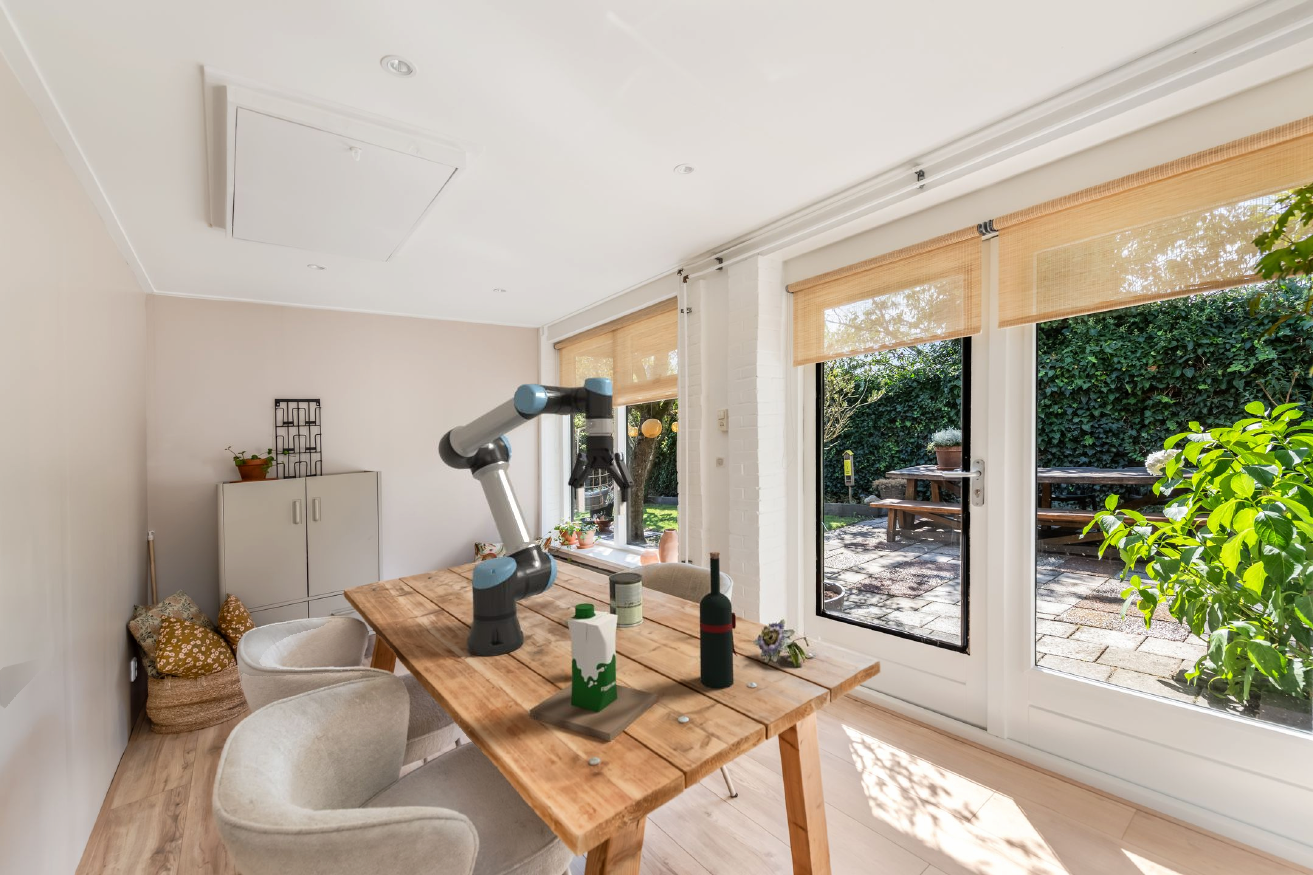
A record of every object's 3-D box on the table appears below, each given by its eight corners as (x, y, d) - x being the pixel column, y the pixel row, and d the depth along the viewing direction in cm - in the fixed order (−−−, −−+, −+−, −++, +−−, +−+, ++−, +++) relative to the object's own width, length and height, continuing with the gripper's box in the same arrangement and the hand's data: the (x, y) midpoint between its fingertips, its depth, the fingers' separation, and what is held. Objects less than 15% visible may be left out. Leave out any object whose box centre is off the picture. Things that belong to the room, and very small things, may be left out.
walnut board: (529, 717, 116) (529, 709, 116) (582, 682, 131) (582, 676, 131) (610, 741, 106) (610, 733, 106) (657, 701, 122) (657, 694, 122)
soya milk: (589, 689, 125) (588, 599, 125) (623, 697, 120) (622, 604, 120) (564, 705, 117) (562, 610, 117) (600, 715, 113) (598, 616, 113)
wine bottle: (747, 678, 132) (745, 551, 132) (717, 692, 125) (715, 557, 125) (723, 668, 138) (720, 546, 138) (693, 680, 131) (690, 552, 131)
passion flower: (768, 683, 141) (742, 640, 145) (793, 663, 148) (768, 622, 152) (796, 671, 133) (767, 625, 137) (821, 650, 140) (793, 607, 144)
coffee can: (602, 623, 173) (602, 577, 173) (624, 614, 181) (623, 570, 181) (629, 629, 167) (628, 582, 167) (649, 620, 175) (648, 575, 175)
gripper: (554, 435, 155) (556, 512, 155) (630, 434, 143) (632, 517, 143) (571, 435, 162) (572, 509, 162) (645, 434, 150) (647, 513, 150)
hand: (600, 513), depth 153 cm, fingers open, 13 cm apart
